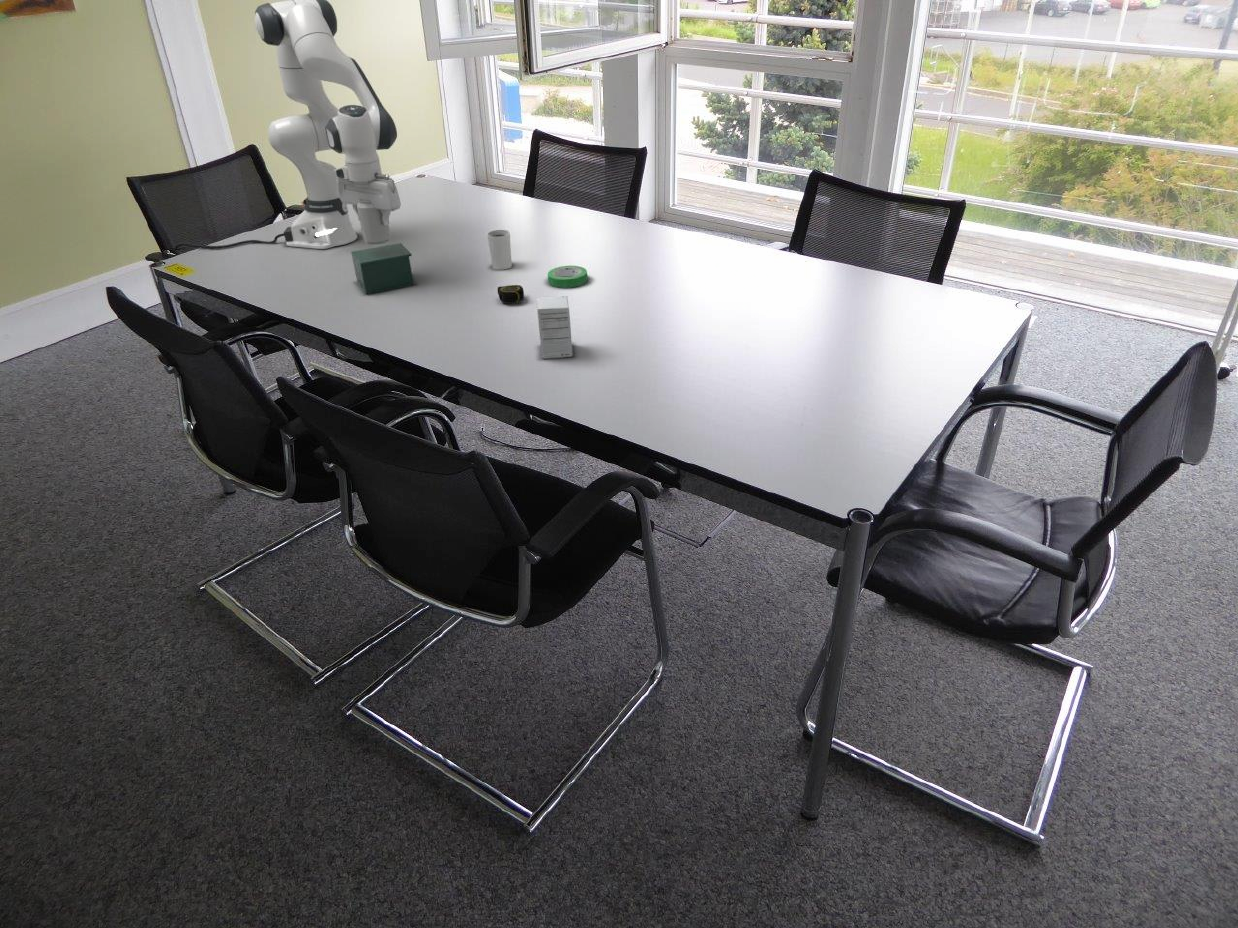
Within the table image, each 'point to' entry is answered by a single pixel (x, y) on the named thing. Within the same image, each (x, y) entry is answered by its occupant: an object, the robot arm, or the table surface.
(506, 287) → the tape measure
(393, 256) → the tin lid
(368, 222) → the can
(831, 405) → the table surface
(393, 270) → the tin
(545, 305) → the white packaging box
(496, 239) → the white cup
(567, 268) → the tape roll
